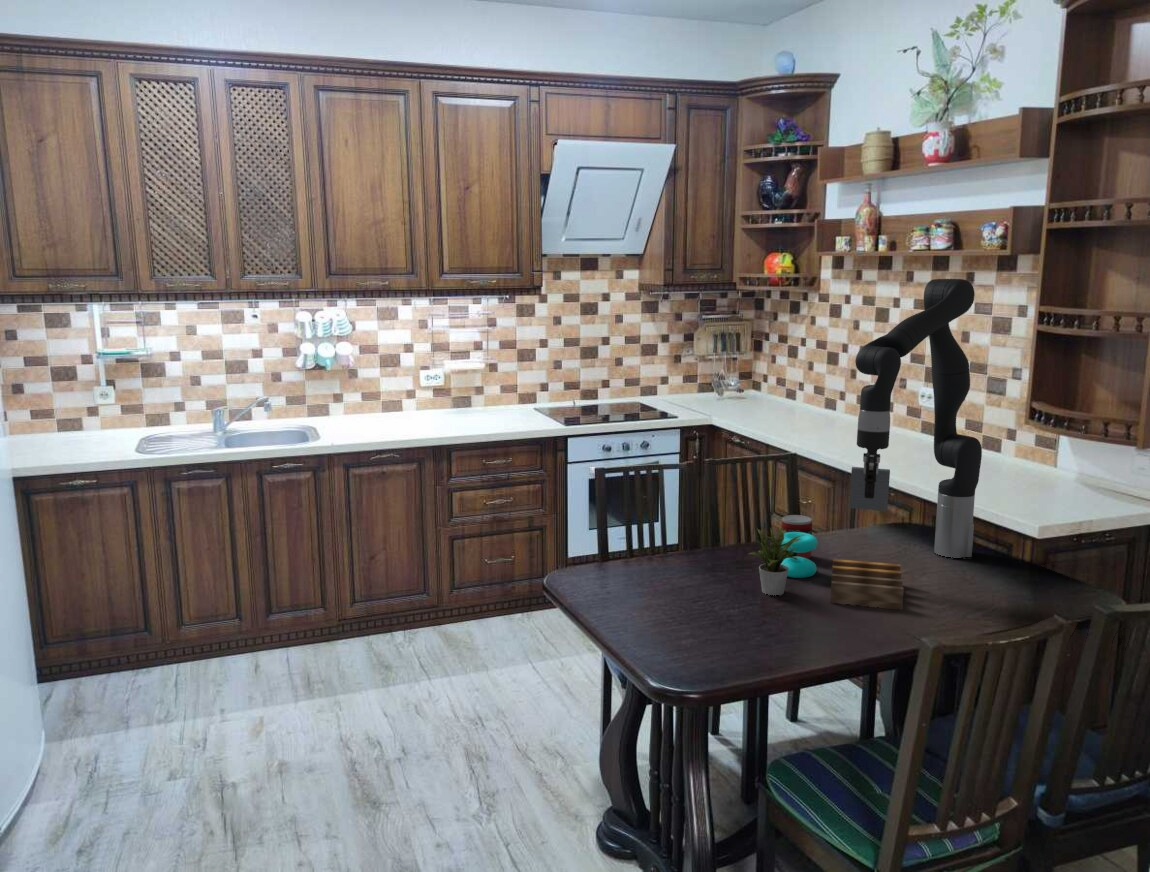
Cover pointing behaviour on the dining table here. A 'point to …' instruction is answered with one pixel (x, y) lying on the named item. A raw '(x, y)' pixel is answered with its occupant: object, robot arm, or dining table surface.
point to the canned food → (797, 529)
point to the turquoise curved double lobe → (802, 565)
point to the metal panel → (879, 491)
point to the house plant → (774, 563)
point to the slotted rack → (867, 584)
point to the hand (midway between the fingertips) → (869, 496)
